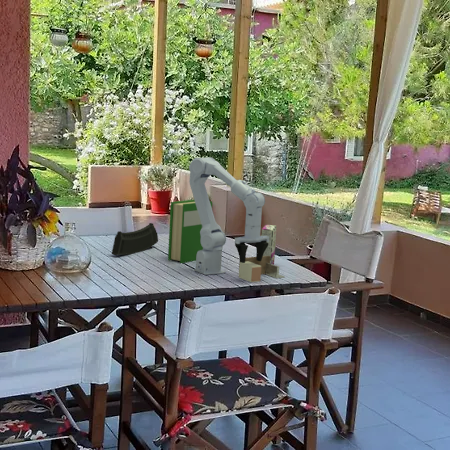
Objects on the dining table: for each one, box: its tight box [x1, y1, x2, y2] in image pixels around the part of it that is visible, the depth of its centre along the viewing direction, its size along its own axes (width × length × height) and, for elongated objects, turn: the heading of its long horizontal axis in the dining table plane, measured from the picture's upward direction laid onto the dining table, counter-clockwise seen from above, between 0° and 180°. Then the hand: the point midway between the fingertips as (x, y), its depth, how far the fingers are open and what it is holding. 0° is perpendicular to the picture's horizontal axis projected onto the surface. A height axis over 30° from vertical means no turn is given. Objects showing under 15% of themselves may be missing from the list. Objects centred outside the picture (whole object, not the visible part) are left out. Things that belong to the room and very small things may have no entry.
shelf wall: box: [238, 256, 270, 276], centre depth 262 cm, size 14×1×7 cm, turn 125°
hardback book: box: [167, 199, 213, 264], centre depth 282 cm, size 18×7×24 cm, turn 143°
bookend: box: [264, 263, 286, 279], centre depth 263 cm, size 4×7×4 cm, turn 35°
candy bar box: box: [260, 224, 277, 265], centre depth 277 cm, size 11×5×16 cm, turn 168°
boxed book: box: [238, 261, 262, 283], centre depth 255 cm, size 4×8×6 cm, turn 35°
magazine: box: [111, 222, 159, 256], centre depth 290 cm, size 17×3×30 cm
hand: (250, 261), depth 254 cm, fingers open, 7 cm apart
